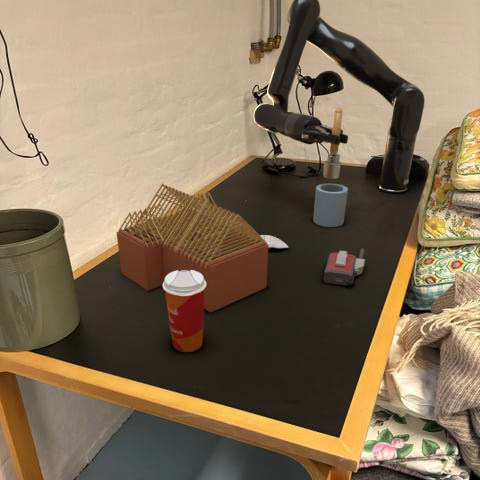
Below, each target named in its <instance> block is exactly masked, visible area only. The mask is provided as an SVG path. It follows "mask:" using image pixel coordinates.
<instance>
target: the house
mask: <svg viewBox="0 0 480 480" xmlns="http://www.w3.org/2000/svg"><path fill="white" fill-rule="evenodd" d="M210 199H211V201H212V203H211V202H210ZM166 202H167V203H166ZM156 204H157V205H156ZM164 205H165V206H164ZM169 205H170V206H169ZM163 207H164V208H163ZM167 208H168V209H167ZM175 209H176V210H175ZM179 210H180V211H179ZM165 211H166V212H165ZM174 211H175V212H174ZM173 212H174V213H173ZM134 216H135V217H134ZM128 219H129V220H128ZM127 220H128V221H127ZM116 240H117V249H118V255H119V264H120V271H121V274H122V275H123V276H125V277H127V279H129V280H131V281H132V282H134V283H136V284H137V285H139V286H140V287H141V288H143V289H145V290H146V291H151V290H153V289H156V288H159V287H161V286H163V283H164V280H165V277H166V276H167V275H168V274H169V273H171V272H173V271H177V270H178V272H179V271H181V270H188V271H190V270H194V271H197V272H199V273H201V274H202V275H203V277H204V280H205V281H206V287H205V289H204V310H205V311H207V312H209V313H213V312H215V311H217V310H219V309H222V308H224V307H226V306H228V305H230V304H232V303H235V302H237V301H239V300H241V299H244V298H246V297H248V296H251V295H252V294H255V293H257V292H260V291H261V290H262V291H263V290H264V289H266V288H267V285H268V283H267V282H268V262H269V261H268V260H269V247H268V244H267V242H266V241H265V240H264V239H263V238H262V237H261V236H260V233H259V232H258V231H257V230H255V229H254V228H253V227H252V226H251V225H250V224H249V222H247V220H245V219H244V218H243V217H242V216H241V215H240V214H239V213H237V214H236V213H235V211H233V212H232V211H230V210H227V209H226V208H225V207H224V208H223V207H222V206H218V205H217V204H216V203H215V201H214V198H213V197H212V195H211V193H210V192H209V190H208V191H207V192H206V193H205V192H201V193H198V194H197V195H196V194H194V195H192V194H189V193H185V192H184V191H182V190H178V189H177V188H174V187H171V186H170V185H169V186H168V185H167V184H164V182H163V183H161V185H160V186H159V188H158V189H157V191H156V192H155V194H154V196H153V197H152V199H151V201H150V202H149V204H148V205H147V207H145V208H144V209H143V211H142V209H140V210H139V211H138V212H137V211H136V210H134V211H133V213H132V212H129V213H128V214H127V216H126V217H125V219H124V220H123V222H122V224H121V226H120V227H119V228H118V230H117V231H116ZM190 272H191V271H190Z"/></svg>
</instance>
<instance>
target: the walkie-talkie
mask: <svg viewBox="0 0 480 480" xmlns="http://www.w3.org/2000/svg"><path fill="white" fill-rule="evenodd" d="M364 256H365V248H363V247H362V248H360V250H359V255H358V258H357V256H356V255H354V254H352V253H351V254H349V251H347V250H338V252H336V251H335V252H331V253H329V255H328V258H327V261H326V265H325V269H324V271H323V272H324V273H323V282H324V283H326V284H330V285H337V286H345V287H348V286H352V285H353V284H354V281H355V277H357V276H359V275H362V274H363V271H364V268H365V263H366V259H364Z"/></svg>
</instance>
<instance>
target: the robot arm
mask: <svg viewBox="0 0 480 480" xmlns="http://www.w3.org/2000/svg"><path fill="white" fill-rule="evenodd" d="M286 21H287V25H288V29H287V31H286V32H287V33H286V36H285V39H284V43H283V46H282V48H281V51H280V53H279V56H278V59H277V60H276V63H275V65H274V67H273V68H274V69H273V71H272V74H271V78H270V81H269V84H268V87H267V92H266V93H267V96H268V97H269V99H270V100H272V103H271V104H270V103H268V102H267V103H265V102H264V103H260V104H259V105H258V106H256V108H255V109H254V111H253V121H254V123H255V124H256V125H257V126H258V127H260V128H261V129H264V130H266V131H268V132H269V133H272V134H280V135H282V136H285V137H288V138H290V139H292V140H294V141H297V142H299V143H303V144H306V145H314V144H323V143H325V144H331V143H332V144H335V145H339V146H340V144H344V145H345V144H348V141H349V135H348V134H345V133H344V130H343V129H342V128H341V131H340V136H337V135H333V134H332V128H333V127H330V126H328V125H326V124H322V122H321V120H320V118H318V117H317V116H312V115H310V114H309V115H308V114H306V113H302V112H294V111H290V110H289V99H290V94H291V92H292V89H293V85H294V82H295V78H296V76H297V72H298V69H299V66H300V62H301V59H302V56H303V53H304V49H305V47H306V44H307V43H310V45H313V46H314V47H315V48H317V49H318V50H319V51H321V52H322V53H323V54H324V55H325V56H327V57H328V59H330V60H331V61H332V62H334V63H335V64H336V65H337V66H338V67H340V68H341V69H342V70H343V71H344V72H346V73H347V74H348V75H350V76H351V78H353V79H355V80H356V81H357V82H359V83H362V84H363V85H364V86H367V87H368V88H371V89H373V90H374V91H376V92H377V93H378V94H380V95H381V96H382V97H383V98H384V99H385V101H387V102H388V103H389V104H390V105H391V107H392V113H391V118H390V123H389V128H388V129H387V130H388V131H387V137H386V143H385V150H384V156H383V162H382V167H381V175H380V180H379V185H378V189H379V190H380V191H381V192H385V193H391V194H402V193H405V192H407V190H408V184H409V181H410V180H409V179H410V173H411V168H412V163H413V162H412V161H413V157H414V153H415V147H416V141H417V137H418V134H419V130H420V128H421V122H422V118H423V114H424V109H425V102H426V100H425V95H424V92H423V91H422V90H421V88H419V87H418V86H417V85H416V84H413V83H412V82H410V81H408V80H407V79H405V78H403V77H402V76H401V75H399V74H397V73H396V72H395V71H393V70H392V69H391V67H389V65H388V64H387V63H386V62H385V61H384V60H383V59H382V58H381V57H380V56H379V55H378V54H377V53H376V52H375V51H374V50H373V49H371V47H369V46H368V45H367V44H365V42H363V41H362V40H361V39H360V38H357V37H356V36H353V35H352V34H349V33H346V32H344V31H341V30H338V29H336V28H334V27H333V26H331V25H330V24H329V23H327V22H326V21H325V20H324V19H323V18H322V17H321V4H320V1H319V0H292V2H291V4H290V7H289V9H288V11H287V15H286Z"/></svg>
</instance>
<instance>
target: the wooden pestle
mask: <svg viewBox="0 0 480 480" xmlns="http://www.w3.org/2000/svg"><path fill="white" fill-rule="evenodd" d="M343 115H344V113H343V109H342V108H341V107H337V108H334V112H333V120H332V127H331V128H332V134H333V135H337V136H340V131H341V129H342V122H343ZM339 147H340V144H339V145H335V144H332V143H330V146H329V153H327V155H326V160H324V162H323V171H322V177H323V178H325V179H328V180H329V179H330V180H336V179H339V178H340V174H341V166H342V161H341V160H340V157H341V156H340V154H338V153H339Z"/></svg>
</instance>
